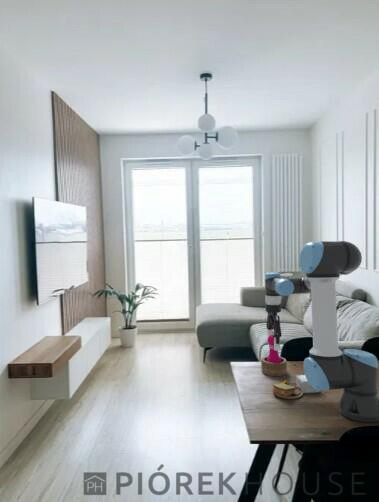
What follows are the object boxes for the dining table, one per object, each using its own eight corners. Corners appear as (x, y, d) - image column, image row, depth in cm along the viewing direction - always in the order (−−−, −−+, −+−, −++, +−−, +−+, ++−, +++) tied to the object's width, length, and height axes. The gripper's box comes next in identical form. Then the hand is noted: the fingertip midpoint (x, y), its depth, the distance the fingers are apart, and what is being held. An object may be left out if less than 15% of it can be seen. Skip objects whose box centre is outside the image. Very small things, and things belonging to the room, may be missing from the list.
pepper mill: (277, 375, 180) (277, 334, 179) (264, 372, 184) (263, 332, 183) (283, 371, 185) (283, 331, 185) (270, 368, 190) (269, 329, 189)
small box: (320, 392, 159) (320, 380, 159) (302, 393, 158) (302, 381, 158) (312, 385, 167) (312, 374, 167) (295, 386, 166) (295, 374, 166)
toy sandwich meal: (309, 396, 156) (309, 385, 156) (285, 403, 149) (285, 391, 149) (288, 386, 167) (288, 375, 167) (265, 392, 160) (264, 381, 160)
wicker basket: (289, 375, 179) (289, 363, 179) (265, 376, 178) (264, 364, 178) (282, 367, 191) (282, 355, 191) (259, 367, 190) (259, 356, 190)
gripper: (288, 308, 171) (288, 353, 172) (274, 299, 196) (274, 339, 197) (271, 308, 171) (272, 354, 172) (260, 299, 196) (260, 339, 197)
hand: (273, 346), depth 184 cm, fingers open, 13 cm apart
